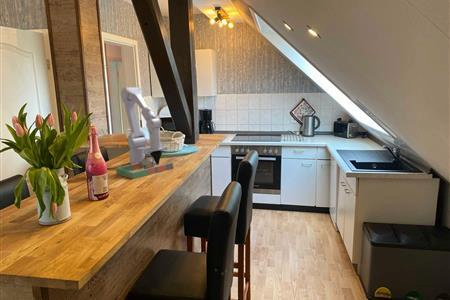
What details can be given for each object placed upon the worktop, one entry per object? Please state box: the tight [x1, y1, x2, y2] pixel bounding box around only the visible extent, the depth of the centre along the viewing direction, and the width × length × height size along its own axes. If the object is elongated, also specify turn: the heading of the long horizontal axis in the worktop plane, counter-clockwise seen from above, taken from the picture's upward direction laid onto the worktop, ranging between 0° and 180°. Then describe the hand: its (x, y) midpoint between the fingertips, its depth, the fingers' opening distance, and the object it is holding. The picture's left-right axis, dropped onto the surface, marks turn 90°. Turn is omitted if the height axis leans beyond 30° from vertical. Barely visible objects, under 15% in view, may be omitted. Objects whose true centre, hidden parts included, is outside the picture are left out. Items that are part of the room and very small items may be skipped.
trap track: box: [115, 162, 174, 180], centre depth 176 cm, size 16×25×3 cm, turn 138°
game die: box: [139, 155, 158, 170], centre depth 177 cm, size 9×8×10 cm
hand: (156, 164), depth 182 cm, fingers closed
